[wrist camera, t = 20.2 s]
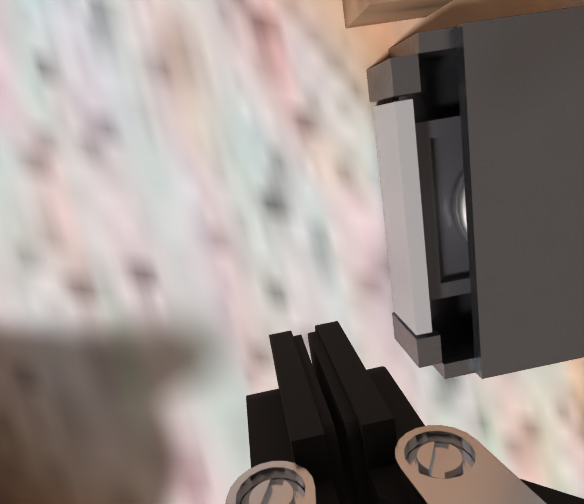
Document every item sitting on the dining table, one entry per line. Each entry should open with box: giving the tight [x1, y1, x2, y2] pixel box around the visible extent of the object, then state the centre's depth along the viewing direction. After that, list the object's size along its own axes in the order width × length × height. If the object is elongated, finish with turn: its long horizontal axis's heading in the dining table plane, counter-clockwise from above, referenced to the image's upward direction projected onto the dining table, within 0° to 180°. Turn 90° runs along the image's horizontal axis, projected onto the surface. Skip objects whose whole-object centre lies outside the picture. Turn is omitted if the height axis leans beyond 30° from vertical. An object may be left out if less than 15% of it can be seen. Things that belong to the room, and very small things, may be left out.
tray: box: [373, 99, 471, 335], centre depth 29 cm, size 14×14×4 cm
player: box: [367, 6, 584, 379], centre depth 29 cm, size 20×15×5 cm
